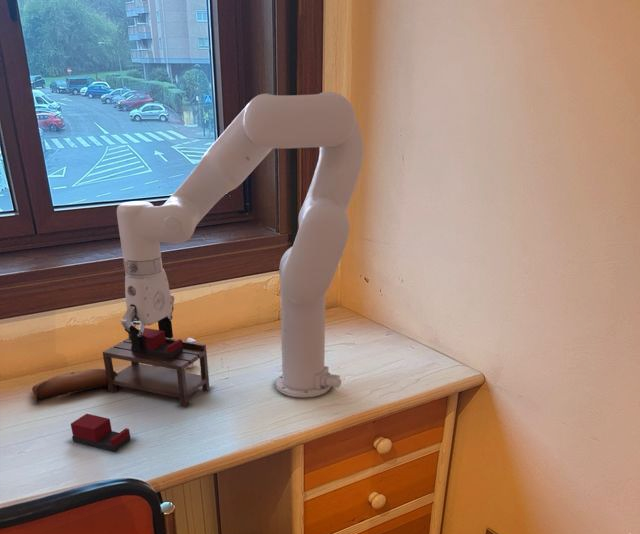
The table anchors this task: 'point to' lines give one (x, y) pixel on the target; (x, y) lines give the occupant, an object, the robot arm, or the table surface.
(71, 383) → the sunglasses case
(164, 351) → the right slipper
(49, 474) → the table surface
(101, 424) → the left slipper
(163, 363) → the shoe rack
